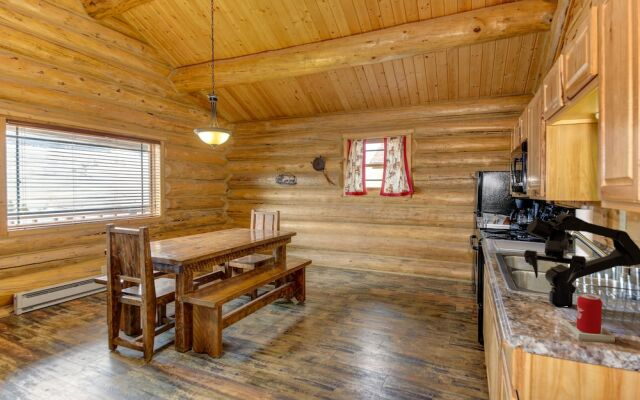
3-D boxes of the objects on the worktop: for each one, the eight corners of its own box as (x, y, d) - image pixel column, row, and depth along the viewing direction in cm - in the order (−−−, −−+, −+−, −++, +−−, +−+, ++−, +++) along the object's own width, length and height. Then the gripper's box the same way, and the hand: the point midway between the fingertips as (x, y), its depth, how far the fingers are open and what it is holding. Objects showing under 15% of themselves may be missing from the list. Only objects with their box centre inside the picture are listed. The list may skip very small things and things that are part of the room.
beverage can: (587, 326, 115) (589, 291, 114) (606, 335, 109) (607, 298, 108) (571, 328, 114) (572, 293, 113) (588, 337, 108) (590, 300, 107)
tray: (597, 328, 115) (597, 322, 114) (614, 342, 105) (614, 336, 105) (565, 326, 117) (565, 320, 117) (578, 339, 108) (578, 333, 108)
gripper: (525, 229, 133) (518, 264, 126) (586, 234, 121) (583, 273, 113) (529, 245, 140) (522, 279, 132) (587, 251, 127) (584, 289, 120)
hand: (551, 279), depth 124 cm, fingers open, 9 cm apart
